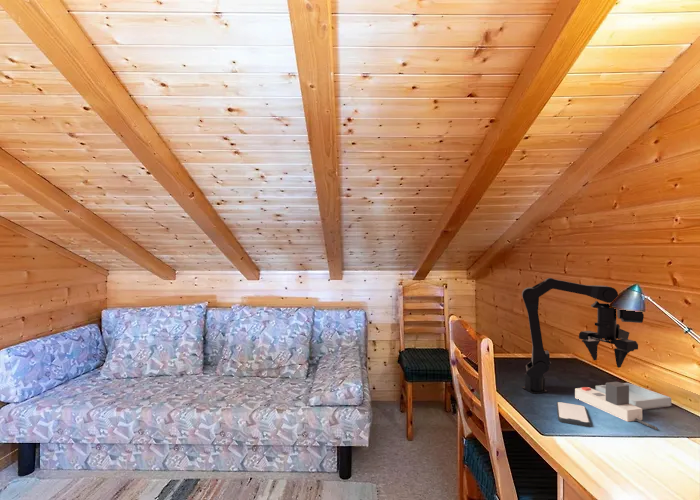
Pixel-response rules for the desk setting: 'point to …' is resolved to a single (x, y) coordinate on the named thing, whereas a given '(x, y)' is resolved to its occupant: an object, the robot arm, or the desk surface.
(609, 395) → the charger
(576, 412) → the phone case
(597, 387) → the tray
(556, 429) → the desk surface
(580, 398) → the power strip
